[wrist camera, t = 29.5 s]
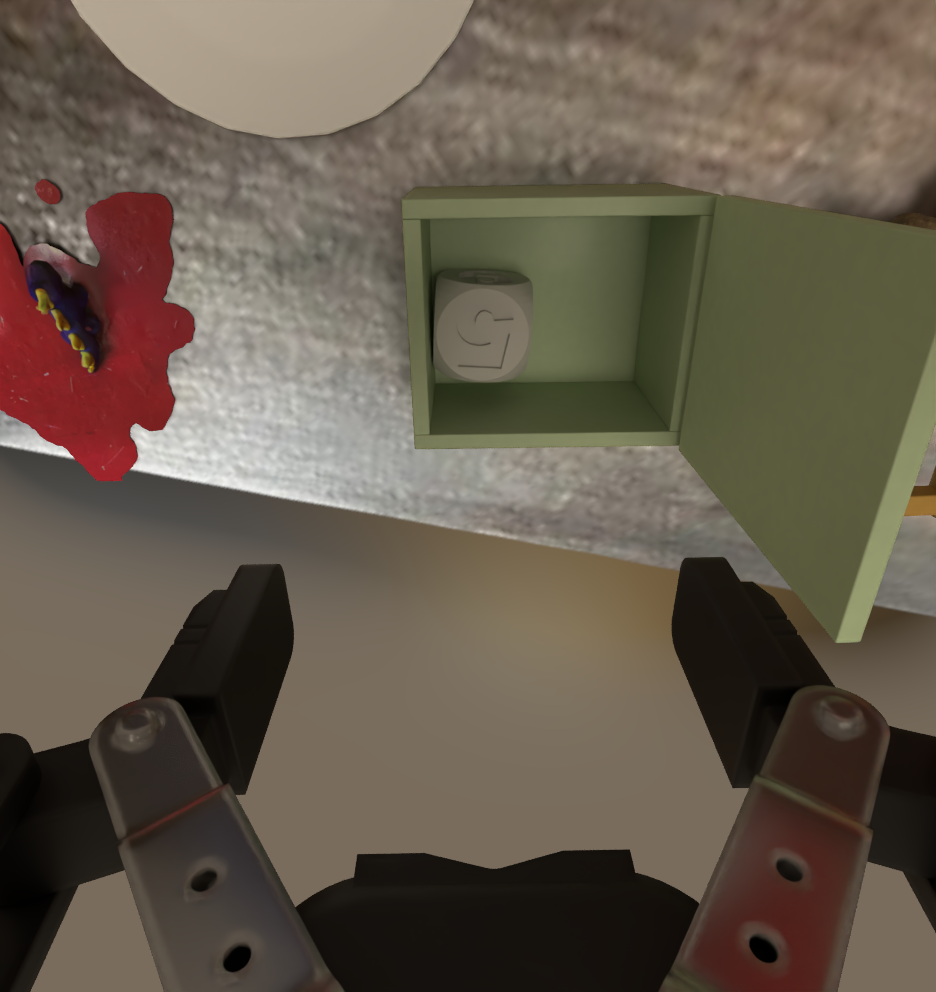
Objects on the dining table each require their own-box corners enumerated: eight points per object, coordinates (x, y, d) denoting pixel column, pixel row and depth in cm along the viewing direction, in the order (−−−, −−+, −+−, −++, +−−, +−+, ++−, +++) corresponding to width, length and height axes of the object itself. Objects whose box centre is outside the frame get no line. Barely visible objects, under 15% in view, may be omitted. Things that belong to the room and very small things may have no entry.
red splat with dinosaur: (236, 455, 46) (221, 493, 43) (20, 463, 45) (-14, 503, 42) (169, 175, 36) (142, 194, 32) (-115, 178, 35) (-177, 198, 31)
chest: (423, 391, 41) (414, 449, 33) (414, 186, 36) (400, 199, 28) (641, 388, 41) (683, 446, 33) (665, 183, 36) (721, 194, 28)
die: (435, 353, 39) (432, 380, 35) (438, 265, 37) (435, 282, 32) (519, 358, 39) (526, 385, 35) (527, 270, 37) (536, 288, 33)
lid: (835, 643, 20) (992, 636, 20) (965, 241, 15) (1179, 237, 15) (677, 450, 33) (775, 446, 33) (716, 195, 28) (833, 193, 28)
